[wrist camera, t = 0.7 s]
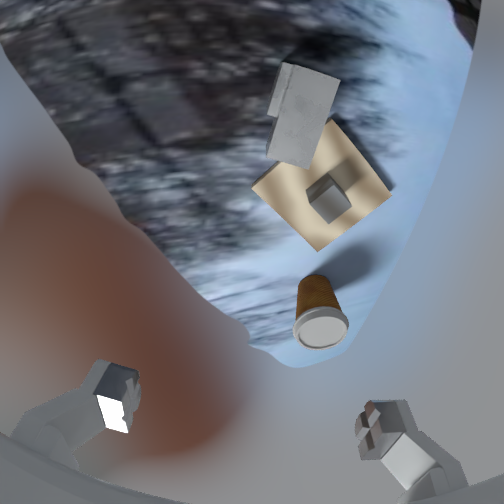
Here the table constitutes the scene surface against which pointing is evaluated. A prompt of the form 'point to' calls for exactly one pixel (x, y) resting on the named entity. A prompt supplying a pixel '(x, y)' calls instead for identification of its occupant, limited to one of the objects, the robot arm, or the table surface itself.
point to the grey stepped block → (298, 113)
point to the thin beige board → (324, 189)
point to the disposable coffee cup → (318, 315)
